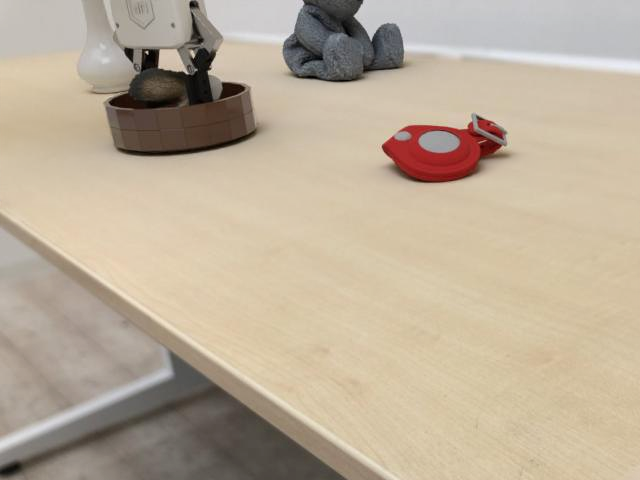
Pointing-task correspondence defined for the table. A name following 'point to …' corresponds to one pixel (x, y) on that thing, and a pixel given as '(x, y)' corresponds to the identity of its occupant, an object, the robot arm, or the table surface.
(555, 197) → the table surface
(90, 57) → the flower vase
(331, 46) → the koala plush
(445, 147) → the tracker holder
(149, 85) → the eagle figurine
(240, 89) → the bowl
